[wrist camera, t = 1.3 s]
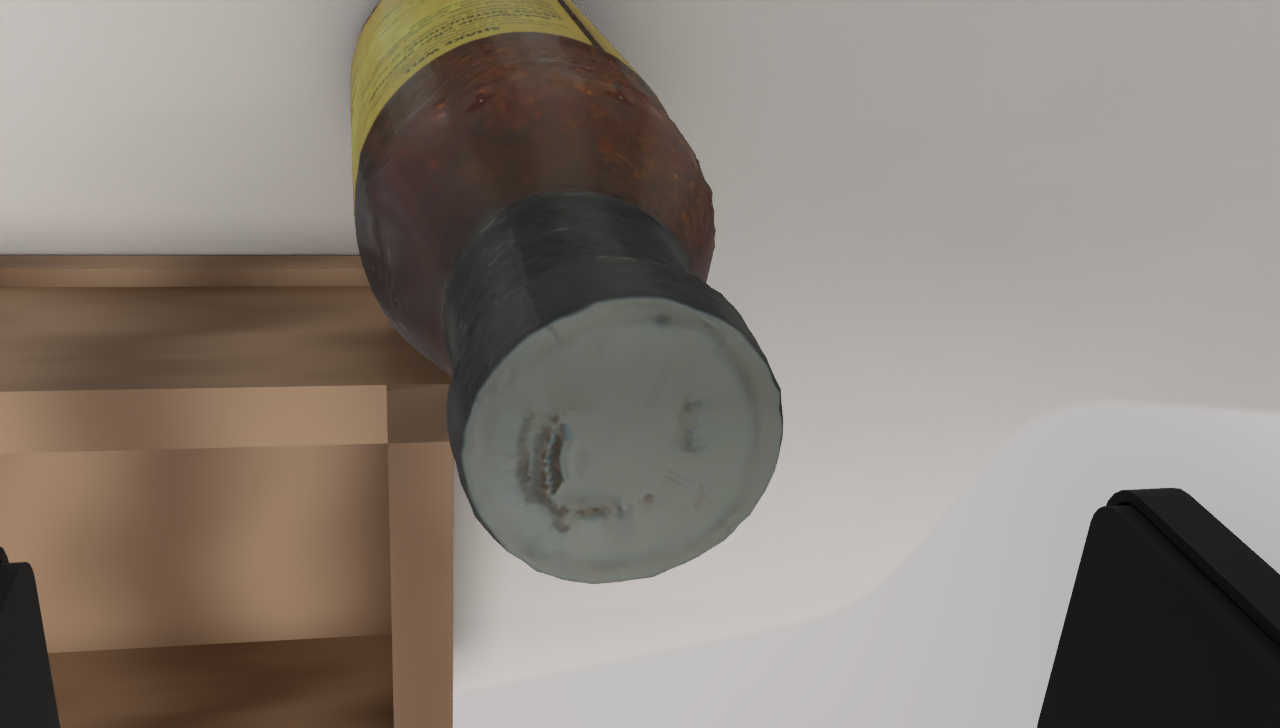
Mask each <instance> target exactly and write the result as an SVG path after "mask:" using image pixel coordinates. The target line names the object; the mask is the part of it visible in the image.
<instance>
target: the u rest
mask: <svg viewBox="0 0 1280 728" xmlns="http://www.w3.org/2000/svg"><path fill="white" fill-rule="evenodd" d="M451 379H452V377H451V376H450V375H448V374H447V373H446V372H444V371H443V370H442V369H440V368H439V367H438V366H437V365H435V364H434V363H433V362H432V361H430V360H429V359H428V358H426V357H425V356H423V355H422V354H420V353H419V352H418V351H417V350H416V349H415V348H414V347H413V346H412V345H411V344H410V343H409V342H408V341H407V340H406V339H404V338H403V336H402V335H401V334H400V333H399V332H398V331H397V329H396V328H395V327H394V326H393V325H392V323H391V322H390V321H389V319H388V318H387V316H386V315H385V314H384V312H383V310H382V309H381V307H380V305H379V303H378V301H377V299H376V298H375V296H374V294H373V292H372V290H371V287H370V285H369V282H368V279H367V276H366V274H365V271H364V268H363V266H362V261H361V257H360V256H255V255H0V547H2V548H3V549H4V551H5V553H6V555H7V557H8V561H9V563H14V562H28V563H29V564H30V565H31V567H32V569H33V572H34V576H35V581H36V587H37V593H38V599H39V604H40V610H41V616H42V622H43V628H44V634H45V640H46V646H47V652H48V657H49V663H50V669H51V675H52V681H53V687H54V693H55V699H56V705H57V710H58V716H59V722H60V728H452V725H453V724H452V723H453V715H452V714H453V713H452V712H453V709H452V708H453V468H454V456H453V453H452V450H451V446H450V442H449V436H448V430H447V397H448V390H449V385H450V382H451Z"/></svg>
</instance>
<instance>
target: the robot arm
mask: <svg viewBox="0 0 1280 728" xmlns="http://www.w3.org/2000/svg"><path fill="white" fill-rule="evenodd" d="M0 728H60V722H59V716H58V710H57V705H56V699H55V693H54V687H53V681H52V675H51V669H50V663H49V657H48V652H47V646H46V640H45V634H44V628H43V622H42V616H41V610H40V604H39V599H38V593H37V587H36V581H35V576H34V572H33V569H32V567H31V565H30V564H29V563H28V562H14V563H9V561H8V557H7V555H6V553H5V551H4V549H3V548H2V547H0ZM1037 728H1280V575H1279V574H1278V573H1277V572H1276V571H1275V570H1274V569H1273V568H1272V567H1270V566H1269V565H1268V564H1267V563H1266V562H1265V561H1264V560H1263V559H1261V558H1260V557H1259V556H1258V555H1257V554H1256V553H1255V552H1254V551H1252V550H1251V549H1250V548H1249V547H1248V546H1247V545H1246V544H1244V543H1243V542H1242V541H1241V540H1240V539H1239V538H1238V537H1237V536H1236V535H1234V534H1233V533H1232V532H1231V531H1230V530H1229V529H1228V528H1226V527H1225V526H1224V525H1223V524H1222V523H1221V522H1220V521H1218V520H1217V519H1216V518H1215V517H1214V516H1213V515H1212V514H1211V513H1209V512H1208V511H1207V510H1206V509H1205V508H1204V507H1203V506H1201V505H1200V504H1199V503H1198V502H1197V501H1196V500H1195V499H1194V498H1193V497H1191V496H1190V495H1189V494H1188V493H1186V492H1184V491H1183V490H1181V489H1176V488H1160V489H1140V490H1122V491H1120V492H1117V493H1115V494H1114V495H1113V496H1112V497H1111V498H1110V500H1109V501H1108V503H1107V505H1106V506H1104V507H1102V508H1099V509H1098V510H1097V511H1096V512H1095V514H1094V515H1093V518H1092V521H1091V523H1090V527H1089V531H1088V535H1087V538H1086V543H1085V546H1084V550H1083V554H1082V557H1081V562H1080V565H1079V569H1078V573H1077V577H1076V580H1075V584H1074V588H1073V592H1072V596H1071V599H1070V603H1069V607H1068V611H1067V614H1066V618H1065V622H1064V626H1063V630H1062V634H1061V637H1060V641H1059V645H1058V649H1057V653H1056V656H1055V660H1054V664H1053V668H1052V672H1051V675H1050V679H1049V683H1048V687H1047V691H1046V694H1045V698H1044V702H1043V706H1042V710H1041V713H1040V717H1039V721H1038V726H1037Z"/></svg>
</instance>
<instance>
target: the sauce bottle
mask: <svg viewBox="0 0 1280 728" xmlns="http://www.w3.org/2000/svg"><path fill="white" fill-rule="evenodd" d="M350 101H351V125H352V169H353V195H354V216H355V225H356V236H357V243H358V248H359V252H360V257H361V261H362V266H363V268H364V271H365V274H366V276H367V279H368V282H369V285H370V287H371V290H372V292H373V294H374V296H375V298H376V299H377V301H378V303H379V305H380V307H381V309H382V310H383V312H384V314H385V315H386V316H387V318H388V319H389V321H390V322H391V323H392V325H393V326H394V327H395V328H396V329H397V331H398V332H399V333H400V334H401V335H402V336H403V338H404V339H406V340H407V341H408V342H409V343H410V344H411V345H412V346H413V347H414V348H415V349H416V350H417V351H418V352H419V353H420V354H422V355H423V356H425V357H426V358H428V359H429V360H430V361H432V362H433V363H434V364H435V365H437V366H438V367H439V368H440V369H442V370H443V371H444V372H446V373H447V374H448V375H450V376H451V377H452V379H451V382H450V385H449V390H448V397H447V430H448V436H449V442H450V446H451V450H452V453H453V456H454V459H455V461H456V464H457V469H458V473H459V477H460V482H461V484H462V487H463V489H464V491H465V493H466V496H467V498H468V500H469V502H470V505H471V507H472V510H473V513H474V515H475V517H476V518H477V520H478V521H479V522H480V523H481V524H482V525H483V527H484V528H485V529H486V530H487V531H488V532H489V534H490V535H491V536H492V537H493V538H494V539H495V540H496V541H497V542H498V543H499V544H500V545H501V546H502V547H503V548H504V549H505V550H506V551H508V552H509V553H511V554H513V555H514V556H516V557H518V558H519V559H521V560H523V561H524V562H525V563H527V564H528V565H529V566H530V567H532V568H533V569H534V570H536V571H538V572H542V573H545V574H548V575H551V576H554V577H557V578H560V579H563V580H568V581H574V582H583V583H590V584H598V583H609V582H621V581H627V580H634V579H641V578H648V577H653V576H656V575H658V574H660V573H662V572H665V571H667V570H669V569H671V568H674V567H676V566H679V565H681V564H684V563H686V562H688V561H690V560H692V559H694V558H696V557H698V556H700V555H701V554H703V553H704V552H706V551H707V550H709V549H711V548H712V547H714V546H716V545H717V544H719V543H721V542H722V541H724V540H725V539H726V538H727V537H728V536H729V535H730V534H731V533H733V532H734V530H735V529H736V528H737V526H738V525H739V524H740V523H741V522H742V521H743V520H744V519H746V518H747V517H748V516H749V515H750V514H751V512H752V511H753V509H754V507H755V506H756V504H757V503H758V501H759V499H760V498H761V496H762V495H763V493H764V492H765V490H766V488H767V486H768V484H769V482H770V479H771V477H772V475H773V473H774V471H775V467H776V464H777V460H778V456H779V451H780V446H781V441H782V435H783V415H782V405H781V389H780V387H779V385H778V383H777V381H776V379H775V377H774V375H773V373H772V370H771V368H770V366H769V363H768V361H767V359H766V357H765V355H764V353H763V352H762V350H761V349H760V347H759V345H758V343H757V341H756V339H755V338H754V336H753V335H752V333H751V332H750V330H749V329H748V327H747V325H746V324H745V322H744V320H743V318H742V317H741V315H740V314H739V313H738V311H737V310H736V309H735V308H734V306H733V305H731V304H730V303H729V302H728V301H727V300H726V299H725V297H724V296H723V295H722V294H721V293H720V292H718V291H716V290H714V289H713V288H711V287H710V286H709V285H707V284H706V281H707V277H708V272H709V268H710V264H711V260H712V255H713V251H714V248H715V241H714V238H715V227H714V209H713V204H712V190H711V188H710V186H709V185H708V184H707V182H706V181H705V179H704V177H703V174H702V171H701V168H700V165H699V161H698V160H697V158H696V156H695V153H694V152H693V150H692V149H691V147H690V146H689V144H688V143H687V141H686V140H685V138H684V136H683V135H682V134H681V133H680V131H679V130H678V128H677V126H676V125H675V123H674V122H673V121H672V120H671V119H670V118H669V116H668V114H667V112H666V111H665V109H664V107H663V106H662V104H661V102H660V101H659V99H658V97H657V96H656V94H655V93H654V92H653V91H652V90H651V88H650V87H649V86H648V85H647V84H646V82H645V81H644V80H643V79H642V78H641V77H640V76H639V75H638V74H637V72H636V71H635V70H634V69H633V68H632V67H631V66H630V65H629V63H628V62H627V61H626V60H625V59H624V58H623V57H622V56H621V54H620V53H619V52H618V51H617V50H616V49H615V48H614V47H613V46H612V45H611V44H610V42H609V41H608V40H607V39H606V38H605V37H604V36H603V35H602V34H601V33H600V32H599V31H598V30H597V28H596V27H595V26H594V25H593V24H592V23H591V22H590V21H589V20H588V19H587V18H586V17H585V15H584V14H583V13H582V12H581V11H580V10H579V9H578V8H577V7H576V5H575V4H574V3H573V2H572V1H571V0H381V1H380V3H379V4H378V5H377V6H376V7H375V9H374V10H373V12H372V14H371V15H370V17H369V18H368V19H367V21H366V23H365V24H364V26H363V27H362V31H361V35H360V37H359V40H358V43H357V46H356V49H355V52H354V56H353V62H352V68H351V79H350Z"/></svg>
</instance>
